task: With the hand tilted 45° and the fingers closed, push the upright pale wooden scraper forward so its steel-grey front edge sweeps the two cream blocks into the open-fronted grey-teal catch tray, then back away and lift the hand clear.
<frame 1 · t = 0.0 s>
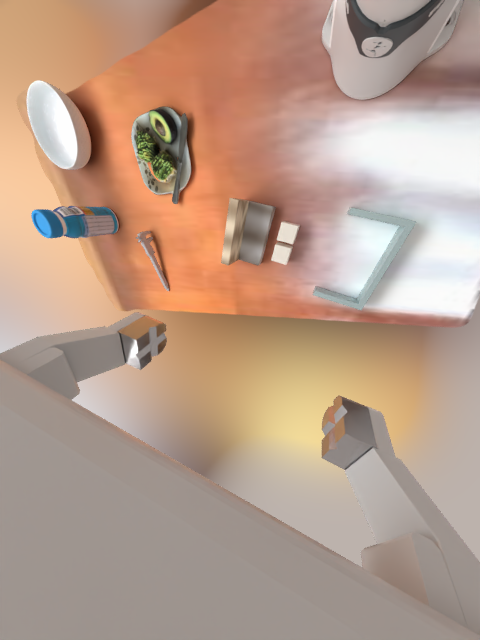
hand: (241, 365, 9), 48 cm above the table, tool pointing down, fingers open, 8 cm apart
cereal bowl: (79, 136, 57), on the table
caliper: (160, 262, 68), on the table
salad plate: (166, 153, 51), on the table
cream block 2: (289, 231, 49), on the table
beverage bottle: (110, 220, 67), on the table
catch tray: (354, 260, 47), on the table
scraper: (254, 233, 52), on the table
cream block 1: (283, 251, 51), on the table
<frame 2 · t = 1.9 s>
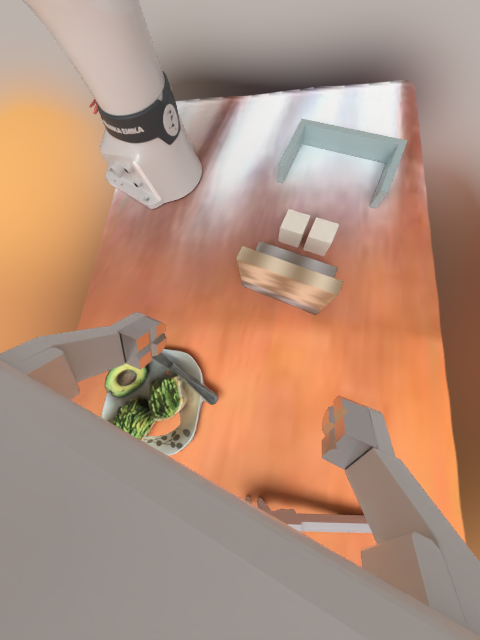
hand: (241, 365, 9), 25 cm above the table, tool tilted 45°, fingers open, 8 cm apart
caliper: (316, 508, 28), on the table
salad plate: (155, 393, 34), on the table
cream block 2: (291, 236, 38), on the table
catch tray: (334, 170, 40), on the table
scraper: (286, 281, 36), on the table
cream block 1: (316, 244, 37), on the table
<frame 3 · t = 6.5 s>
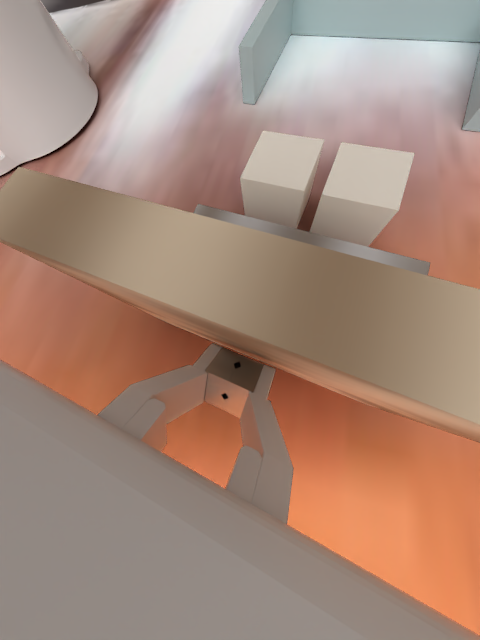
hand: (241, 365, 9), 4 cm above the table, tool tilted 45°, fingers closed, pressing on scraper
cream block 2: (277, 210, 16), on the table
catch tray: (364, 70, 18), on the table
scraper: (274, 305, 14), on the table, touching gripper
cream block 1: (341, 225, 15), on the table
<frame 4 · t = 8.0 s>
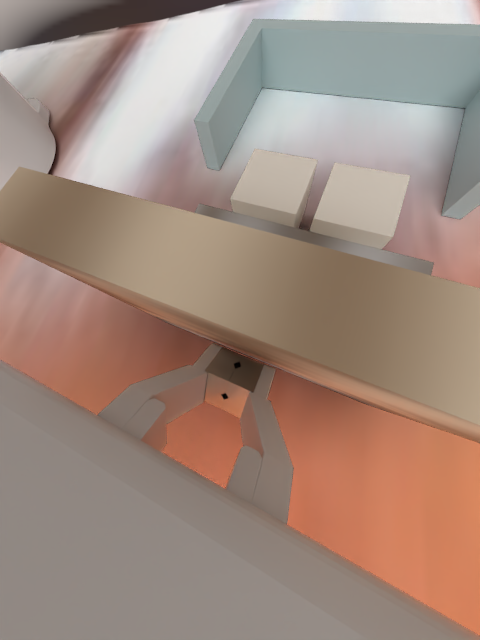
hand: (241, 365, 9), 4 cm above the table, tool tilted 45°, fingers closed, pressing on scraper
cream block 2: (271, 227, 15), on the table
catch tray: (338, 135, 17), on the table
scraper: (276, 305, 14), on the table, touching gripper
cream block 1: (335, 243, 14), on the table
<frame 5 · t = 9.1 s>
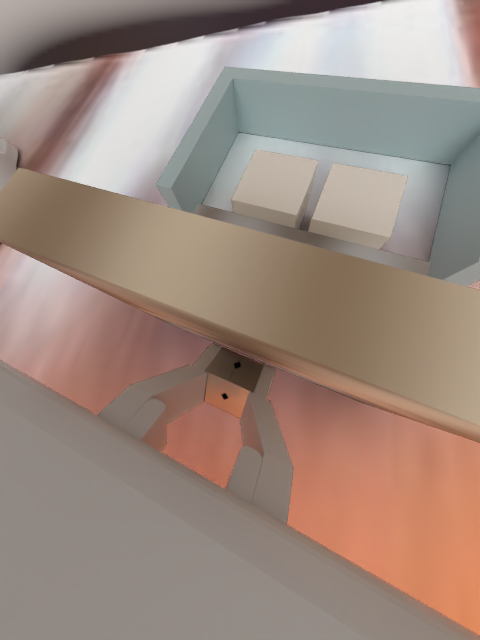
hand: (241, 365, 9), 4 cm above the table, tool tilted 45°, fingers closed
cream block 2: (272, 227, 15), on the table, touching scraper
catch tray: (316, 191, 16), on the table
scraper: (274, 305, 14), on the table, touching cream block 2, cream block 1
cream block 1: (334, 243, 14), on the table, touching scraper
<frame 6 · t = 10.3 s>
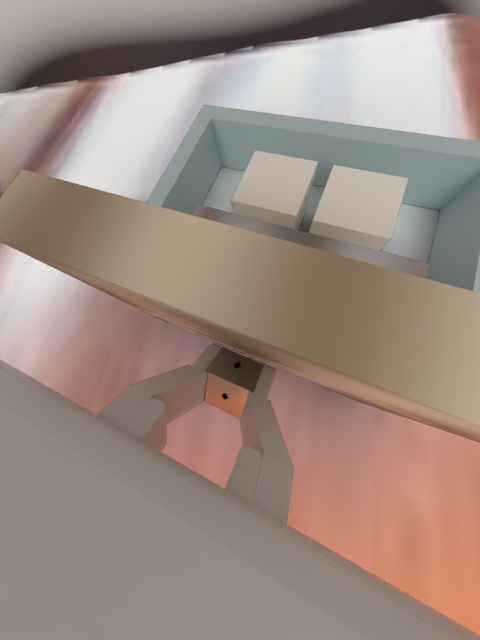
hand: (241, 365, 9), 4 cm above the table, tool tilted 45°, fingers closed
cream block 2: (271, 228, 15), on the table, touching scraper
catch tray: (299, 234, 15), on the table
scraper: (274, 305, 14), on the table, touching cream block 2, gripper
cream block 1: (334, 244, 14), on the table
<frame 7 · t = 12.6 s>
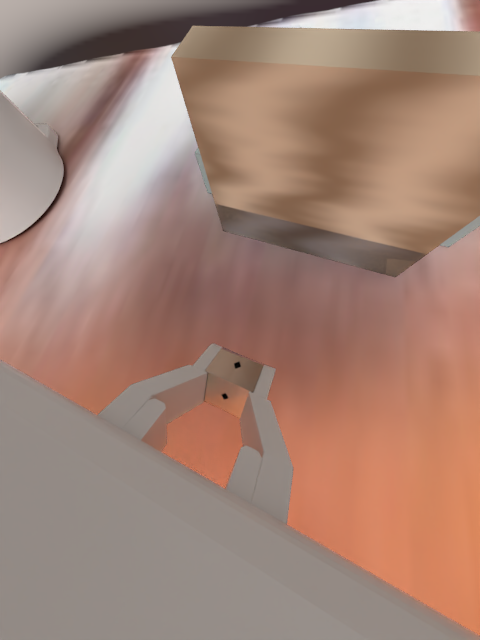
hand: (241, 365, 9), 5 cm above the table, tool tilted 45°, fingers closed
catch tray: (332, 162, 17), on the table
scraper: (315, 213, 17), on the table
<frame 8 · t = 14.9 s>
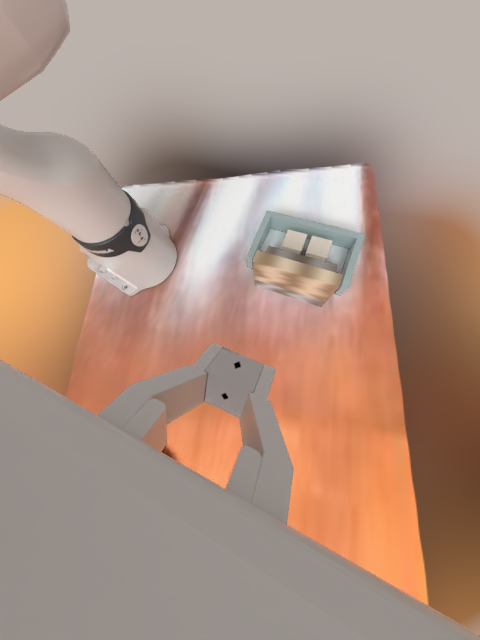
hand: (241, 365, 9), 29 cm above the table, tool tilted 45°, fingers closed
cream block 2: (291, 251, 42), on the table
catch tray: (300, 256, 42), on the table
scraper: (293, 279, 41), on the table
cream block 1: (314, 258, 41), on the table
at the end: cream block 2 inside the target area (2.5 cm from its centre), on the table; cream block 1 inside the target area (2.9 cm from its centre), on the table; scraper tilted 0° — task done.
